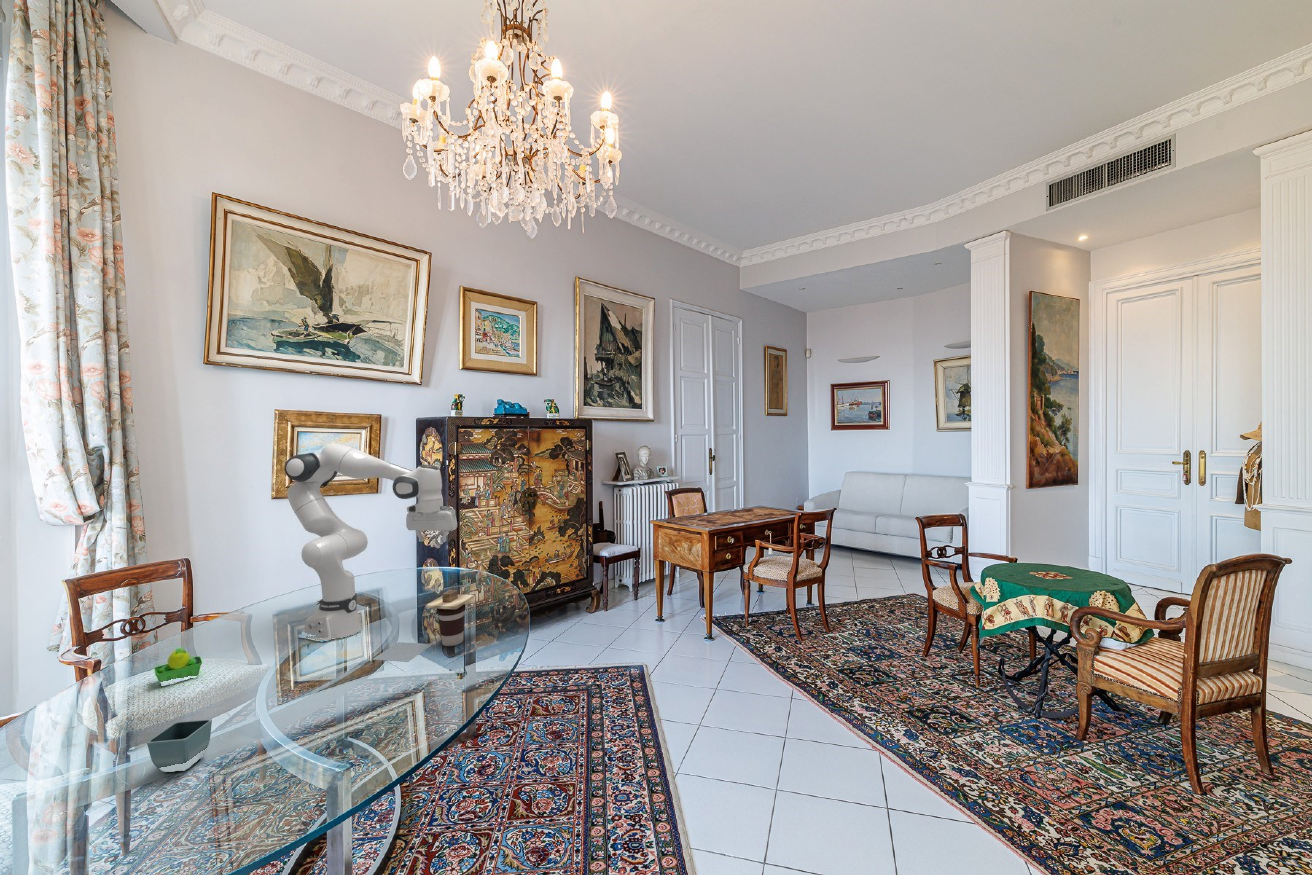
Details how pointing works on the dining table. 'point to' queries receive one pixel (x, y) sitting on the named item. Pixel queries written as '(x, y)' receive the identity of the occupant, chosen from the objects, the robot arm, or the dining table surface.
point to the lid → (450, 600)
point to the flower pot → (179, 742)
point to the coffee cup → (451, 625)
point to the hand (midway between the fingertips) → (432, 541)
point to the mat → (402, 652)
